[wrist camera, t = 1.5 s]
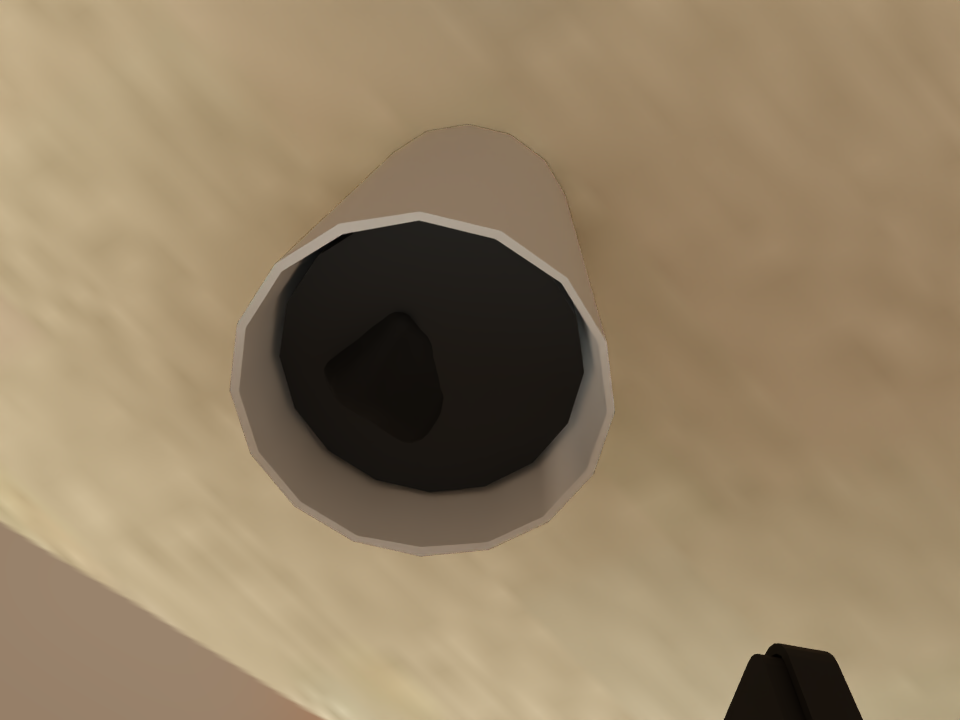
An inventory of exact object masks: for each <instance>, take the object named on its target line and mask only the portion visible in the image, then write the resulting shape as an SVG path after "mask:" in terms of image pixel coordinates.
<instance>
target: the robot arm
mask: <svg viewBox="0 0 960 720" xmlns="http://www.w3.org/2000/svg"><path fill="white" fill-rule="evenodd" d="M724 720H863V719H862V717H861V714H860V712H859V710H858V708H857V705H856V703H855V701H854V699H853V696H852V694H851V692H850V690H849V687H848V685H847V683H846V681H845V678H844V676H843V674H842V672H841V669H840V667H839V665H838V663H837V661H836V660H835V658H834V656H833V655H831V654H830V653H828V652H825V651H820V650H814V649H808V648H802V647H797V646H791V645H785V644H779V643H778V644H773V645H772V646H771V647H769V649H768V650H767V652H766V654H765V655H761V654H754V655H753V656H752V657H751V659H750V660H749V662H748V664H747V667H746V669H745V671H744V674H743V676H742V678H741V681H740V683H739V685H738V688H737V690H736V692H735V695H734V697H733V699H732V702H731V704H730V706H729V709H728V711H727V713H726V716H725V718H724Z"/></svg>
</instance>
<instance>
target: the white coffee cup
mask: <svg viewBox="0 0 960 720" xmlns="http://www.w3.org/2000/svg"><path fill="white" fill-rule="evenodd" d="M230 393H231V396H232V399H233V402H234V405H235V408H236V411H237V414H238V417H239V420H240V423H241V426H242V429H243V432H244V436H245V439H246V442H247V445H248V448H249V451H250V454H251V455H252V456H253V457H254V459H255V460H256V461H257V462H258V463H259V465H260V466H261V467H262V468H263V469H264V471H265V472H266V473H267V474H268V475H269V477H270V478H271V479H272V480H273V481H274V483H275V484H276V485H277V486H278V487H279V489H280V490H281V491H282V492H283V493H284V495H285V496H286V497H287V498H288V499H289V501H290V502H291V503H292V504H293V505H294V506H295V507H297V508H298V509H300V510H302V511H303V512H305V513H307V514H308V515H310V516H312V517H313V518H315V519H317V520H318V521H320V522H322V523H324V524H325V525H327V526H329V527H330V528H332V529H334V530H335V531H337V532H339V533H340V534H342V535H344V536H345V537H347V538H349V539H350V540H352V541H354V542H359V543H363V544H368V545H372V546H377V547H381V548H386V549H390V550H395V551H399V552H403V553H408V554H412V555H417V556H430V555H440V554H450V553H461V552H471V551H481V550H489V549H491V548H494V547H496V546H498V545H500V544H502V543H504V542H506V541H509V540H511V539H513V538H515V537H517V536H519V535H521V534H524V533H526V532H528V531H530V530H532V529H534V528H536V527H539V526H541V525H543V524H545V523H547V522H549V521H550V520H551V519H552V518H553V517H554V516H555V515H556V514H557V513H558V511H559V510H560V509H561V508H562V507H563V506H564V505H565V504H566V503H567V502H568V501H569V500H570V499H571V498H572V497H573V496H574V494H575V493H576V492H577V491H578V490H579V489H580V488H581V487H582V486H583V485H584V484H585V483H586V482H587V481H588V480H589V478H590V477H591V476H592V475H593V474H594V472H595V469H596V466H597V463H598V460H599V457H600V454H601V451H602V448H603V445H604V442H605V439H606V437H607V434H608V431H609V428H610V425H611V422H612V419H613V416H614V413H615V407H614V398H613V390H612V381H611V373H610V364H609V356H608V347H607V341H606V337H605V334H604V330H603V327H602V323H601V320H600V316H599V313H598V309H597V306H596V302H595V299H594V295H593V292H592V288H591V284H590V281H589V277H588V274H587V270H586V267H585V263H584V260H583V256H582V253H581V249H580V246H579V242H578V238H577V235H576V231H575V228H574V224H573V221H572V217H571V214H570V210H569V207H568V203H567V200H566V195H565V194H564V192H563V190H562V189H561V187H560V185H559V183H558V182H557V180H556V178H555V177H554V175H553V173H552V172H551V170H550V168H549V167H548V165H547V163H546V161H545V160H544V159H543V158H541V157H540V156H539V155H537V154H536V153H535V152H533V151H532V150H531V149H529V148H528V147H526V146H525V145H524V144H522V143H521V142H520V141H518V140H517V139H516V138H514V137H513V136H512V135H510V134H506V133H502V132H498V131H494V130H490V129H486V128H482V127H478V126H473V125H469V124H467V125H461V126H455V127H449V128H443V129H437V130H431V131H426V132H425V133H423V134H421V135H420V136H418V137H417V138H415V139H414V140H412V141H411V142H409V143H407V144H406V145H404V146H403V147H401V148H400V149H398V150H397V151H395V152H393V153H392V154H391V155H390V156H389V157H388V158H387V159H386V160H385V161H384V162H383V163H382V164H381V165H380V166H378V167H377V168H376V169H375V170H374V171H373V172H372V173H371V174H370V175H369V176H368V177H367V178H366V179H365V180H364V181H363V182H361V183H360V184H359V185H358V186H357V187H356V188H355V189H354V190H353V191H352V192H351V193H350V194H349V195H348V196H347V197H346V198H344V199H343V200H342V201H341V202H340V203H339V204H338V205H337V206H336V207H335V208H334V209H333V210H332V211H331V212H330V213H329V214H327V215H326V216H325V217H324V218H323V219H322V220H321V221H320V222H319V223H318V224H317V225H316V226H315V227H314V228H313V229H312V230H310V231H309V232H308V233H307V234H306V235H305V236H304V237H303V238H302V239H301V240H300V241H299V242H298V243H297V244H296V245H294V246H293V247H292V248H291V249H290V250H289V251H288V252H287V253H286V254H285V255H284V256H283V257H282V258H281V259H280V260H279V261H277V262H276V263H275V264H274V266H273V268H272V269H271V271H270V272H269V274H268V276H267V277H266V279H265V280H264V282H263V283H262V285H261V287H260V288H259V290H258V291H257V293H256V294H255V296H254V298H253V299H252V301H251V302H250V304H249V305H248V307H247V309H246V310H245V312H244V313H243V315H242V316H241V318H240V320H239V321H238V323H237V329H236V338H235V347H234V356H233V365H232V374H231V383H230Z"/></svg>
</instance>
